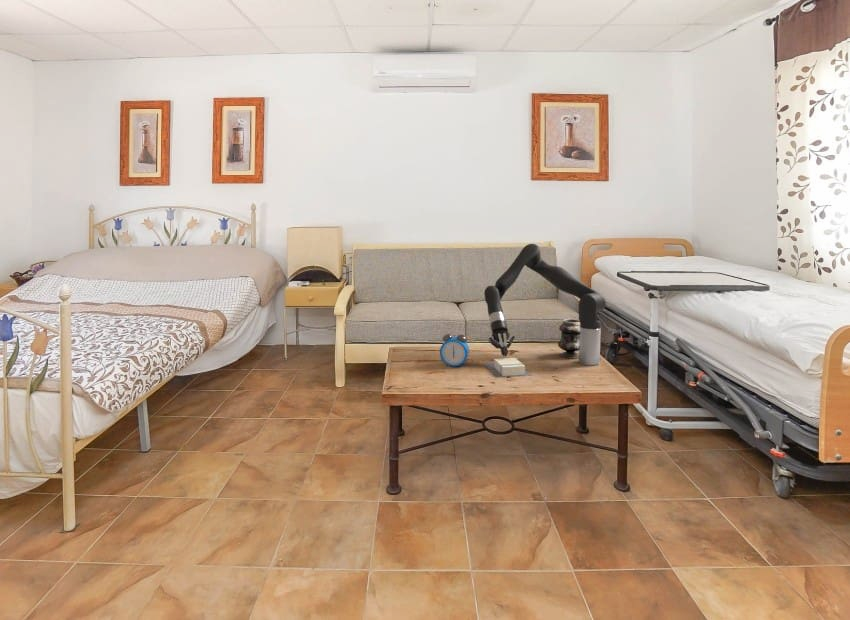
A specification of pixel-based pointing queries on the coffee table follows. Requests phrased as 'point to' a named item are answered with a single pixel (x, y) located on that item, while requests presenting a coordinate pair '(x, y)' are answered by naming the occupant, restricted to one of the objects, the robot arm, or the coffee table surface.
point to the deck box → (509, 366)
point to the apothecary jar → (570, 338)
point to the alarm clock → (454, 350)
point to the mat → (497, 374)
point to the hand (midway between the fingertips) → (505, 355)
